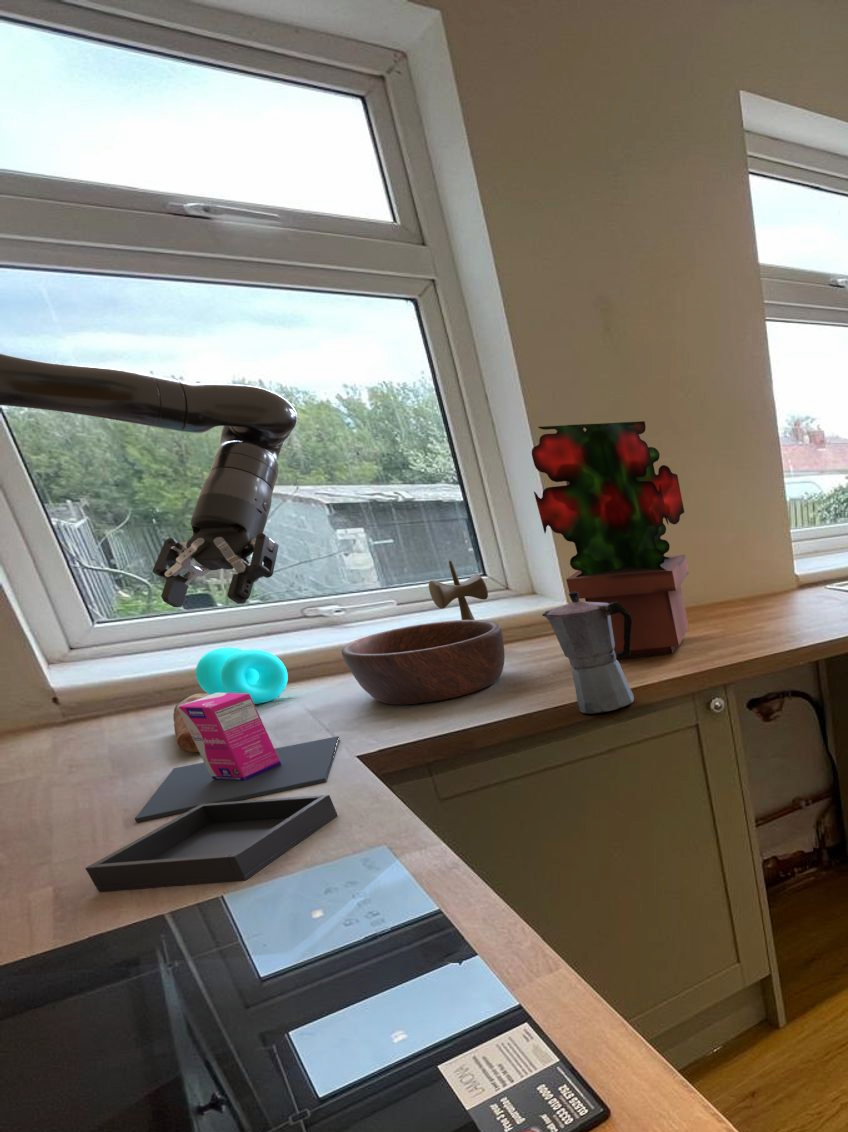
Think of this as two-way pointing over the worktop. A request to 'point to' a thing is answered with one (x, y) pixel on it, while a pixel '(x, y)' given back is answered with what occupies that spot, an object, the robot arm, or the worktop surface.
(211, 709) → the supplement box
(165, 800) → the mat
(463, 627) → the wooden bowl
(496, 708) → the worktop surface
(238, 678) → the donuts
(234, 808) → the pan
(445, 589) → the kendama
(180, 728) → the bread
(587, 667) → the moka pot
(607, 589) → the potted plant
